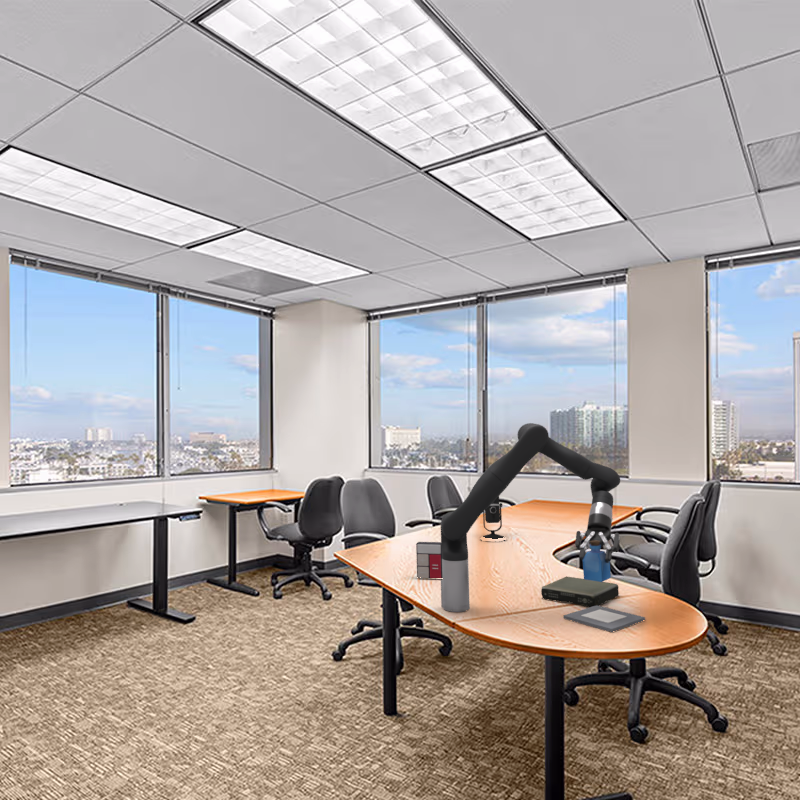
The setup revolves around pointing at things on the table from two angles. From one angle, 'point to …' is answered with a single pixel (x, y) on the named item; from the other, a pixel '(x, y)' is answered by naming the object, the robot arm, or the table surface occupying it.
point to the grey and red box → (429, 560)
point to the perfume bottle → (596, 563)
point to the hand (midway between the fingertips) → (594, 560)
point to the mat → (604, 618)
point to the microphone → (493, 518)
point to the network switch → (580, 591)
